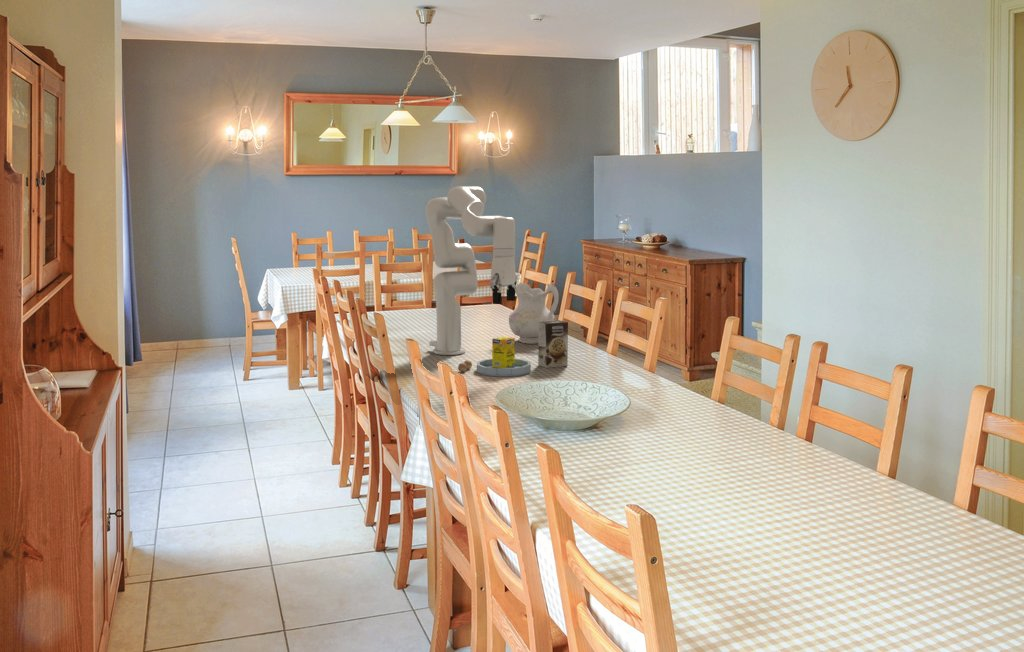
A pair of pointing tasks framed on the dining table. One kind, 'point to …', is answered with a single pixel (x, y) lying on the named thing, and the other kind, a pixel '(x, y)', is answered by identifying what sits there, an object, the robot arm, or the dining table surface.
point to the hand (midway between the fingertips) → (504, 302)
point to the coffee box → (553, 344)
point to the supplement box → (503, 352)
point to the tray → (486, 368)
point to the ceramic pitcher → (531, 312)
